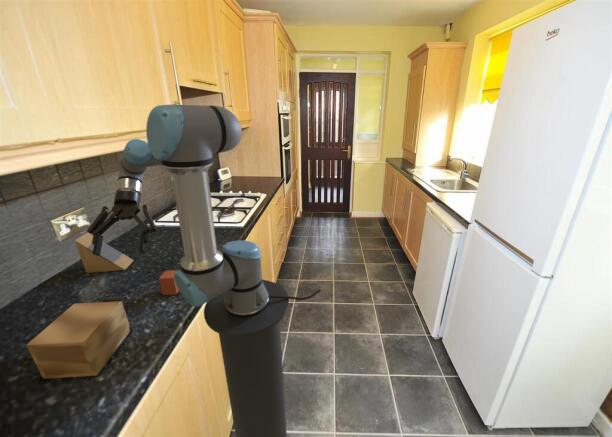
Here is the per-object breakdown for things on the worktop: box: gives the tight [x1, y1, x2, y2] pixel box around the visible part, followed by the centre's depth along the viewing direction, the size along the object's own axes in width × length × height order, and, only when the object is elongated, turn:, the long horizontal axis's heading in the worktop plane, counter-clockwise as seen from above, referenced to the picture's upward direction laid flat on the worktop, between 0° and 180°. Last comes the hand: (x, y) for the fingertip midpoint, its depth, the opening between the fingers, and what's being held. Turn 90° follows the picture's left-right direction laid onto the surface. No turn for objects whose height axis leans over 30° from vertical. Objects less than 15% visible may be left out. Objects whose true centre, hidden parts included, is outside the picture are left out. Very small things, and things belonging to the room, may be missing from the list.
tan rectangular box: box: [26, 301, 131, 380], centre depth 71 cm, size 15×13×11 cm
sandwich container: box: [74, 231, 134, 274], centre depth 113 cm, size 9×15×15 cm, turn 98°
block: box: [158, 269, 180, 296], centre depth 97 cm, size 5×5×7 cm
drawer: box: [100, 296, 130, 327], centre depth 75 cm, size 19×12×9 cm, turn 3°
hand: (119, 253), depth 86 cm, fingers open, 13 cm apart
